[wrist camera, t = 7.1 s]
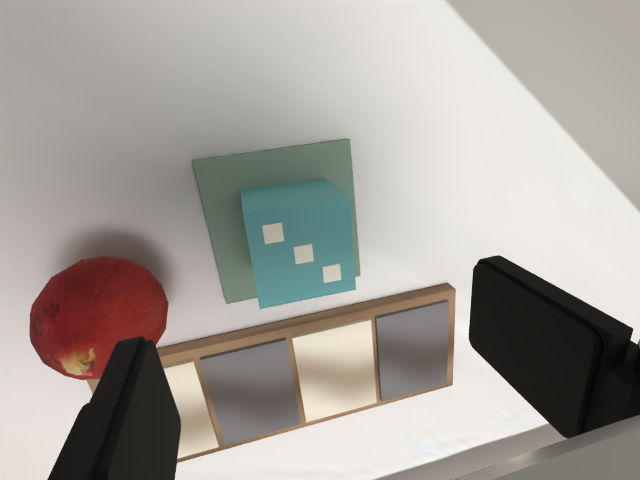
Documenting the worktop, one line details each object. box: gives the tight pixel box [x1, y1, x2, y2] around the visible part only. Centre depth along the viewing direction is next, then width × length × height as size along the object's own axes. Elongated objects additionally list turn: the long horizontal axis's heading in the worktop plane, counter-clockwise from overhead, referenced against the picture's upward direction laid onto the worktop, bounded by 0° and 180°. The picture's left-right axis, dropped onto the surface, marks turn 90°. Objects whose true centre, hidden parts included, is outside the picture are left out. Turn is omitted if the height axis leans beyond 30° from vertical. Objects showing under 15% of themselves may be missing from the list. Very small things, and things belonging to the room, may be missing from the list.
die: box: [240, 178, 356, 309], centre depth 19 cm, size 5×5×5 cm
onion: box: [30, 256, 168, 380], centre depth 18 cm, size 6×6×8 cm
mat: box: [192, 139, 360, 304], centre depth 22 cm, size 9×9×1 cm
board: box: [87, 283, 456, 463], centre depth 26 cm, size 9×25×1 cm, turn 97°
